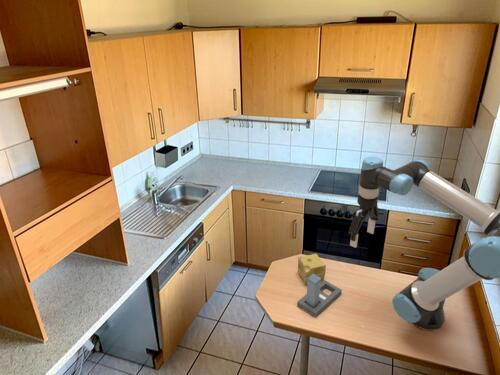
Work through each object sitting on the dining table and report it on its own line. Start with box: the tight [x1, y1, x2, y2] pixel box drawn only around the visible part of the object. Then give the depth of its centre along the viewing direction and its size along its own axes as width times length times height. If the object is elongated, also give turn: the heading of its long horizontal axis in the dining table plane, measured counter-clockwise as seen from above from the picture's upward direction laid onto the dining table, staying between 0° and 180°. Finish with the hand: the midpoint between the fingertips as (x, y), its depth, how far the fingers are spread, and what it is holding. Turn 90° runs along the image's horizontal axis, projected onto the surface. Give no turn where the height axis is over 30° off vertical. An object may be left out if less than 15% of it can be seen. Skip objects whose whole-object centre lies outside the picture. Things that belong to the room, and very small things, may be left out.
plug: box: [306, 274, 321, 308], centre depth 165 cm, size 4×4×16 cm
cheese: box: [297, 253, 327, 286], centre depth 184 cm, size 10×11×10 cm
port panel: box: [296, 279, 343, 318], centre depth 171 cm, size 10×20×3 cm, turn 135°
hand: (362, 239), depth 159 cm, fingers open, 13 cm apart
